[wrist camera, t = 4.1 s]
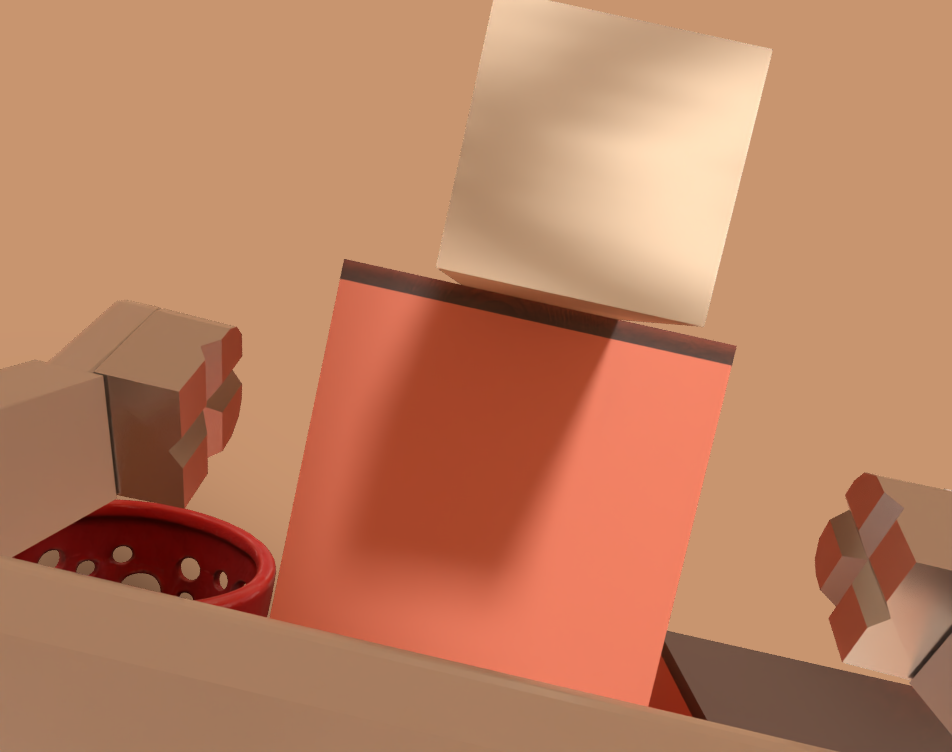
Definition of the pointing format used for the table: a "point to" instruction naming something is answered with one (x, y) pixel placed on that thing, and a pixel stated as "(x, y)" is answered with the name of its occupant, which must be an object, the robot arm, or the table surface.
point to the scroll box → (601, 162)
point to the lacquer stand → (538, 509)
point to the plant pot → (168, 552)
